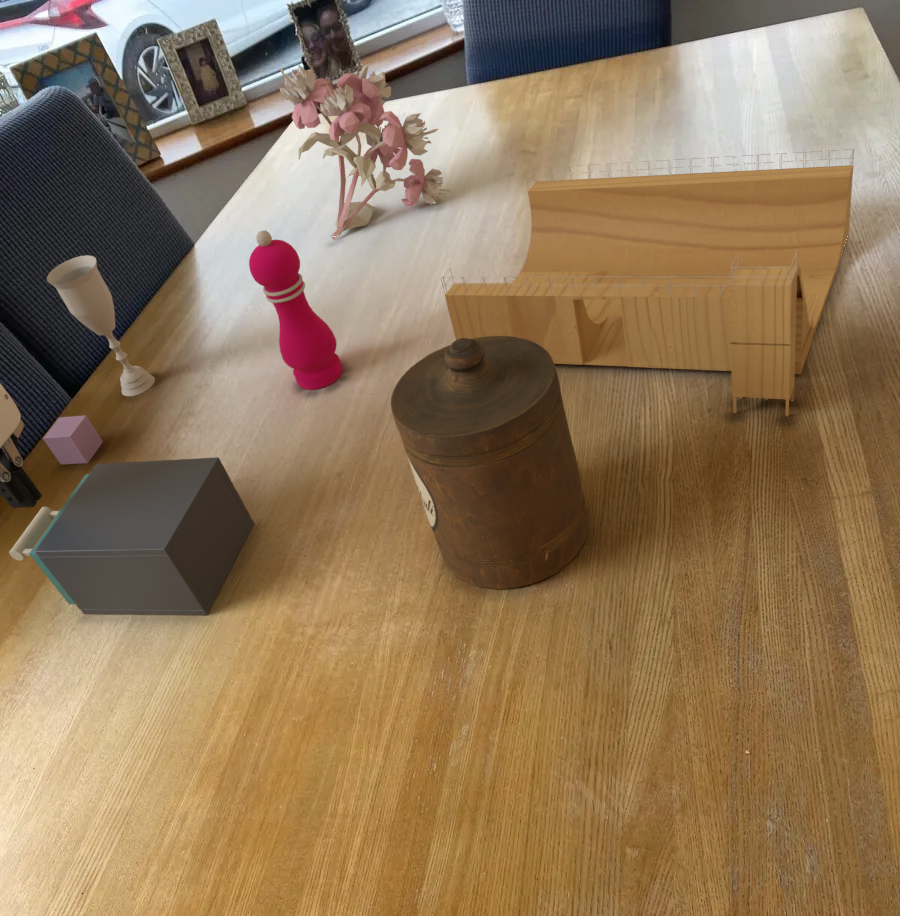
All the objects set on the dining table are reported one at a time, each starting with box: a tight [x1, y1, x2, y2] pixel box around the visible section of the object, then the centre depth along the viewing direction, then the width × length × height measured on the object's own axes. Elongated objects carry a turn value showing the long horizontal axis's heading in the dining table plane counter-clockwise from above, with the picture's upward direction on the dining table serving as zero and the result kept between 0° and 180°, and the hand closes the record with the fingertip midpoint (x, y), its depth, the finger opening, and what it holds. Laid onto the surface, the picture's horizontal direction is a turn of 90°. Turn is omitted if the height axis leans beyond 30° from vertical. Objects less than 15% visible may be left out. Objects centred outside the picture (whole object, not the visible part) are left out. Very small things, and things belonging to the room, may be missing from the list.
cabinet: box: [35, 456, 255, 616], centre depth 100 cm, size 16×14×10 cm
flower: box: [279, 63, 451, 241], centre depth 145 cm, size 20×22×25 cm
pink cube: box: [42, 414, 104, 465], centre depth 123 cm, size 4×4×4 cm
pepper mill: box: [248, 230, 343, 391], centre depth 116 cm, size 7×7×20 cm
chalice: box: [46, 255, 156, 397], centre depth 127 cm, size 7×7×18 cm
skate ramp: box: [440, 148, 855, 417], centre depth 108 cm, size 40×35×16 cm
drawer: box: [8, 473, 90, 605], centre depth 102 cm, size 21×12×8 cm, turn 77°
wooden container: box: [390, 336, 590, 590], centre depth 85 cm, size 15×15×22 cm
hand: (27, 502), depth 100 cm, fingers closed
